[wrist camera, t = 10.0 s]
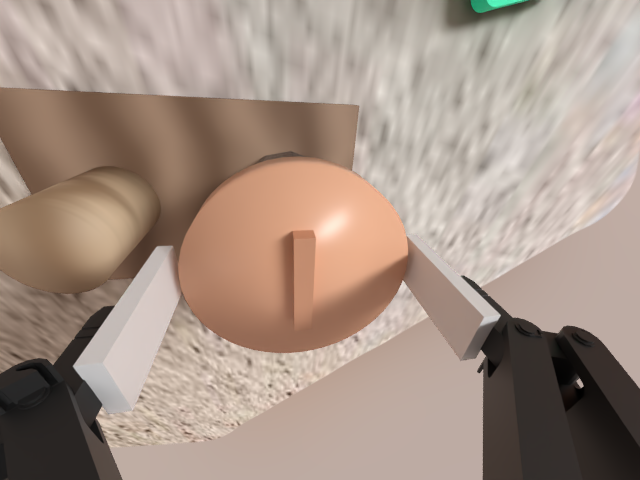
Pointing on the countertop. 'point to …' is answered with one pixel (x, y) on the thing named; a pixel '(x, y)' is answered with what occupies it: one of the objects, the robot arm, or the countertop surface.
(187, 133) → the brown board with post
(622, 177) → the countertop surface
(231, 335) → the domed pot lid
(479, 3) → the camera mount
